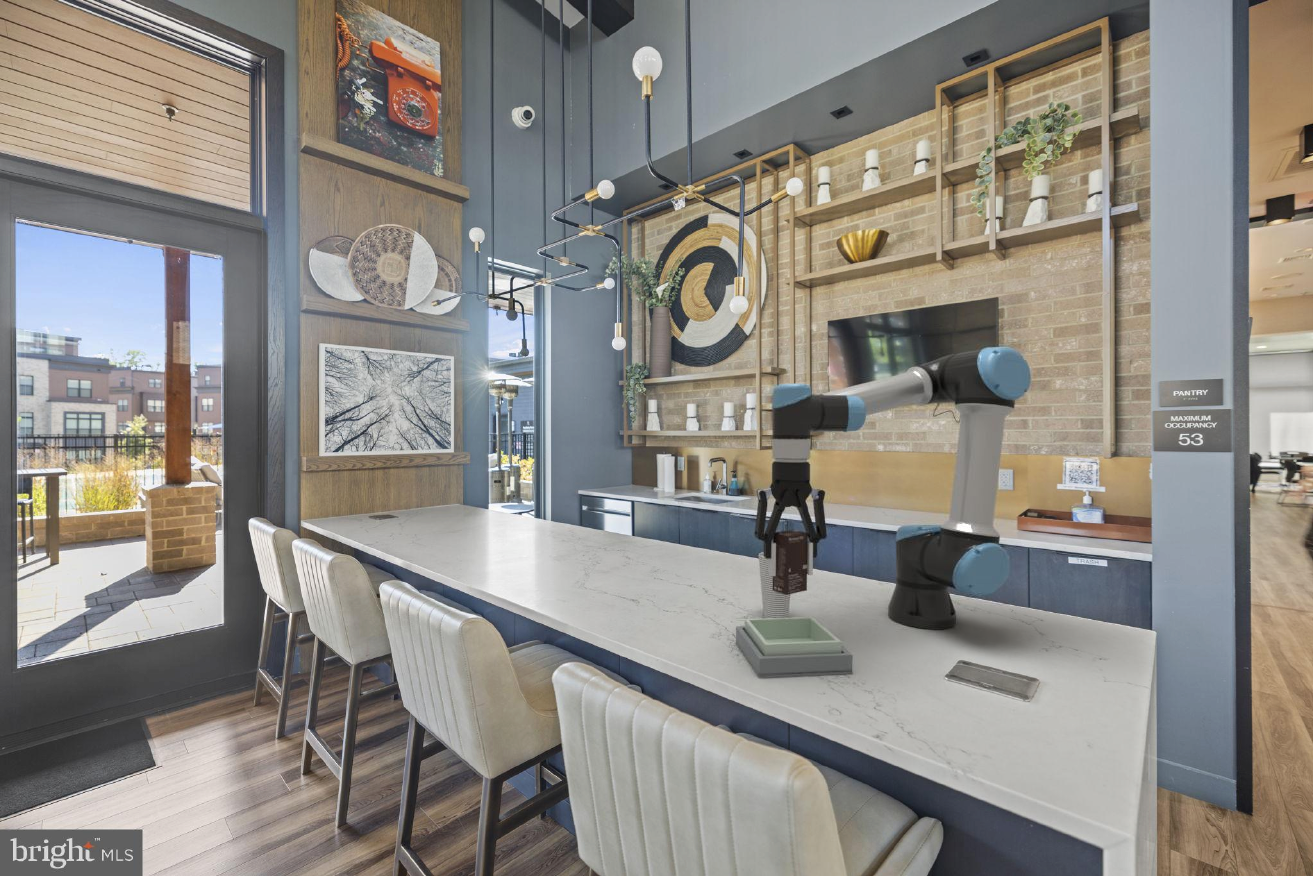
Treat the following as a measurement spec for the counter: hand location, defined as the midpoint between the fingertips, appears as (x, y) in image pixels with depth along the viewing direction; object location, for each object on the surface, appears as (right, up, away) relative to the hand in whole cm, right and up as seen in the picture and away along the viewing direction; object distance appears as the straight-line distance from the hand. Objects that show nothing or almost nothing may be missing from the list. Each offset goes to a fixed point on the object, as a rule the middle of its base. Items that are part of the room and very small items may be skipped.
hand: (790, 573), depth 117 cm
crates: (0, -17, 0) cm, 17 cm away
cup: (+2, -17, +26) cm, 31 cm away
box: (0, -4, 0) cm, 4 cm away
